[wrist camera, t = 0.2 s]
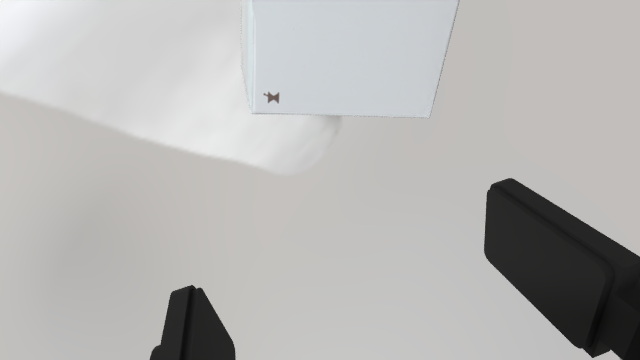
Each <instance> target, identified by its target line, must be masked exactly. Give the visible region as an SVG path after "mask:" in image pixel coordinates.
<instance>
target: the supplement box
mask: <svg viewBox="0 0 640 360" xmlns="http://www.w3.org/2000/svg"><path fill="white" fill-rule="evenodd" d="M458 5H459V0H241V69H242V74H243V79H244V84H245V88H246V94H247V99H248V103H249V107H250V112H251V114H300V115H336V116H374V117H375V116H376V117H414V118H416V117H417V118H430V115H431V111H432V107H433V103H434V99H435V95H436V92H437V87H438V83H439V80H440V76H441V72H442V68H443V64H444V59H445V56H446V52H447V48H448V44H449V40H450V36H451V32H452V29H453V24H454V21H455V17H456V13H457V9H458Z"/></svg>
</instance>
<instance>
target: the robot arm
mask: <svg viewBox="0 0 640 360" xmlns="http://www.w3.org/2000/svg"><path fill="white" fill-rule="evenodd" d="M484 253H485V255H486V258H487V259H488V261H489V262H490V263H491V264H492V265H493V266H494V267H495V268H496V269H497V270H499V272H500V273H501V274H502V275H504V276H505V278H506V279H507V280H508V281H509V282H510V283H511V284H513V286H515V288H516V289H518V291H520V292H521V294H523V295H524V296H525V297H526V298H527V299H528V300H529V301H530V302H531V303H532V304H533V305H534V306H535V307H536V308H537V309H538V310H539V311H540V312H541V313H542V314H543V315H544V316H545V317H546V318H547V319H548V320H549V321H550V322H551V323H552V324H553V325H554V326H555V327H556V328H557V329H558V330H559V331H560V332H561V333H562V334H563V335H564V336H565V337H566V338H567V339H568V340H569V341H570V342H571V343H572V344H573V345H574V346H576V347H578V348H583V349H584V350H585V351H586V352H587V353H588V354H589V355H590V356H591V357H592V358H594V357H596V356H599V355H601V354H604V353H606V352H609V351H610V349H611V350H612V351H613V352H614V353H615V354H616V355H618V356H619V357H620V360H640V257H639V256H638V255H636V254H634V253H633V252H631V251H630V250H628V249H626V248H625V247H623V246H622V245H620V244H618V243H617V242H615V241H613V240H611V239H610V238H609V237H607V236H605V235H604V234H602V233H600V232H599V231H597V230H596V229H594V228H592V227H591V226H589V225H588V224H586V223H584V222H583V221H581V220H579V219H578V218H576V217H574V216H573V215H571V214H570V213H568V212H566V211H565V210H563V209H562V208H560V207H558V206H557V205H555V204H553V203H552V202H550V201H549V200H547V199H545V198H544V197H542V196H540V195H539V194H537V193H535V192H534V191H532V190H531V189H529V188H527V187H525V186H524V185H523V184H521V183H519V182H518V181H516V180H514V179H512V178H508V179H505V180H502V181H499V182H496V183H494V184H492V185H491V188H490V190H488V192H487V202H486V223H485V244H484ZM150 360H235V348H234V344H233V341H232V339H231V338H230V336H229V334H228V332H227V331H226V329H225V327H224V326H223V324H222V322H221V320H220V319H219V317H218V315H217V314H216V312H215V310H214V308H213V307H212V305H211V303H210V301H209V300H208V298H207V296H206V295H205V293H204V291H203V290H202V288H197V289H196V288H195V287H194V286H193V285H191V286H187V287H185V288H182V289H179V290H175V291H173V292H172V293H171V295H170V300H169V305H168V310H167V315H166V320H165V325H164V330H163V335H162V340H161V345H159V346H156V347H155V348H154V349H153V351H152V354H151V357H150Z"/></svg>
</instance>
